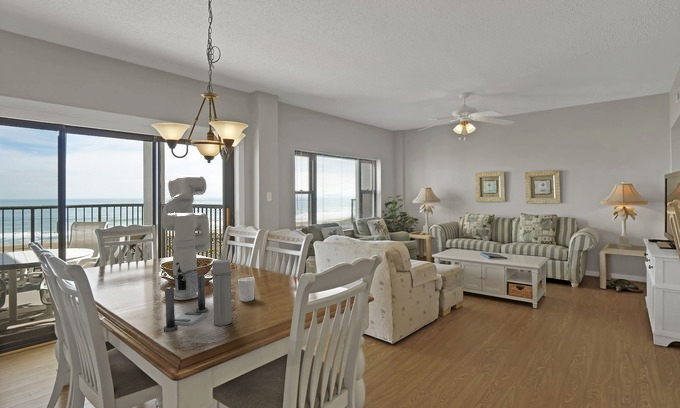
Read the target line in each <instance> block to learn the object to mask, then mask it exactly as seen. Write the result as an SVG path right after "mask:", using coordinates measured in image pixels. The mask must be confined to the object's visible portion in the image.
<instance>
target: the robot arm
mask: <svg viewBox="0 0 680 408" xmlns="http://www.w3.org/2000/svg"><path fill="white" fill-rule="evenodd" d="M167 187H168V188H167V190H168V192H169V195H170V197H171V199H169V200H168V201H167V202H166V203H165V205H164V206H163V208H162V213H161V215H162V216H161V226H162V228H163V229H164V230H165V231H167V232H174V237H173V238H172V249H173V256H172V272H173V273H172V274H173V275H172V276H174V278H175V277H176V278H177V281H178V290H186V280H185V273H186V272H189V271H197V269H198V265H197V264H198V262H197V261H198V260H197V253H206V252H208V251H210V248H211V240H210V239H211V238H210V237H211V235H210V221H209V217H208V214H206V213H205V212H194V209H193V207H194V205H193V203H194V201H195V199H194V196H201V195H204V194H205V193H206V191H207V181H206V178H205V177H204V176H202V175H180V176H177V177H175V178H173V179H171V180H169V181H168V182H167ZM195 232H199V233H195ZM180 272H182V273H180ZM180 274H182V276H181V275H180ZM196 298H198V291H197V292H195V293H193V294H184V293H176V292H175V287H174V301H175V300H176V301H177V300H178V301H184V300H192V299H196Z"/></svg>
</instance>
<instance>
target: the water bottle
mask: <svg viewBox="0 0 680 408" xmlns="http://www.w3.org/2000/svg"><path fill="white" fill-rule="evenodd" d="M211 267H212V268H211V273H210V275H211V276H212V300H213V301H212V302H213V305H212V306H213V307H212V308H213V324H214V325H215V326H218V327H222V326H228V325H230V324H231V323H233V308H232V307H233V304H232V302H233V301H232V300H233V299H232V297H233V296H232V270H231V263H230V260H229V259H217V260H213V261H212V266H211Z"/></svg>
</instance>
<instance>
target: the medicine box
mask: <svg viewBox="0 0 680 408" xmlns="http://www.w3.org/2000/svg"><path fill="white" fill-rule="evenodd" d="M180 273H182V272H180ZM180 275H181V276H182V274H180ZM197 276H198V271H197V270H196V271H189V272H186V273H185V280H186V290H178V281H177V278H176V277H175V276H174V284H175V285H174V286H175V287H174V288H175V292H176V293H184V294H193V293H195V292H198V280H197Z"/></svg>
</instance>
